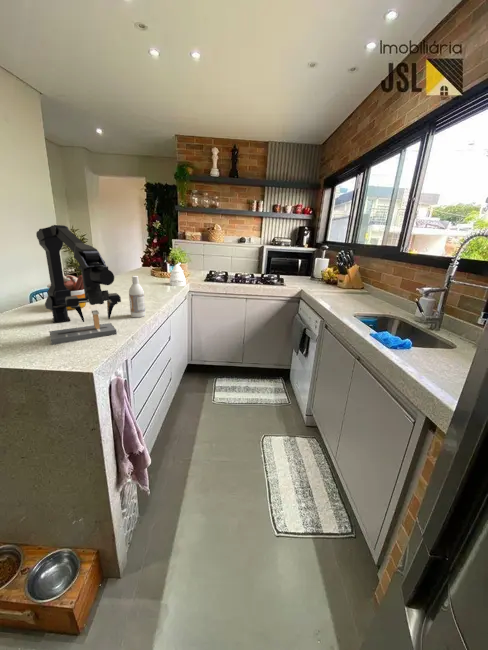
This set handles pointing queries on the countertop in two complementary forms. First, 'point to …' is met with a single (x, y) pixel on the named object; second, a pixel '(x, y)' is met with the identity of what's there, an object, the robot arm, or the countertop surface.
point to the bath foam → (136, 298)
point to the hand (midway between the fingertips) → (96, 320)
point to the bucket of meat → (74, 287)
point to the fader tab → (96, 319)
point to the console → (81, 333)
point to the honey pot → (177, 276)
